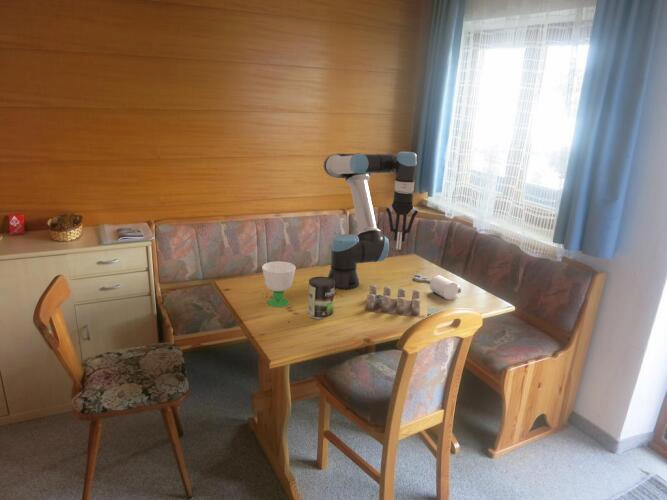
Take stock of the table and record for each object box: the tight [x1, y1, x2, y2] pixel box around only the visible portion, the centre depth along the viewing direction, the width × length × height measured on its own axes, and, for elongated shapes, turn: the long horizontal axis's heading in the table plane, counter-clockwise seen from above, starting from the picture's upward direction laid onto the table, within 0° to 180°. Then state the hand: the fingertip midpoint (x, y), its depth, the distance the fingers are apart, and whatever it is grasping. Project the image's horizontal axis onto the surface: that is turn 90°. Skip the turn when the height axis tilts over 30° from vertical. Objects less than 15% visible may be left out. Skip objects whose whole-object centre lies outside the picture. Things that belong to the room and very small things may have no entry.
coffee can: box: [307, 276, 336, 320], centre depth 191 cm, size 10×10×14 cm
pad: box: [426, 306, 442, 317], centre depth 199 cm, size 8×7×1 cm
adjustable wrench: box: [412, 273, 462, 293], centre depth 230 cm, size 25×6×2 cm, turn 45°
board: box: [364, 284, 421, 318], centre depth 200 cm, size 22×16×7 cm
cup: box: [261, 260, 297, 308], centre depth 199 cm, size 14×14×16 cm
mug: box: [429, 274, 461, 300], centre depth 217 cm, size 12×10×8 cm
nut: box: [374, 294, 383, 307], centre depth 201 cm, size 4×5×4 cm
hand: (398, 248), depth 199 cm, fingers closed
